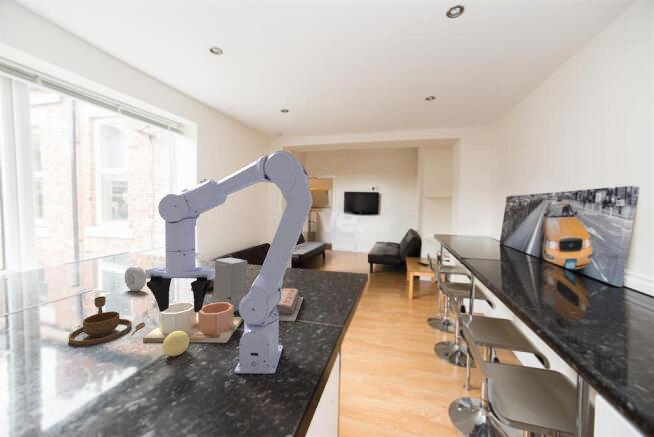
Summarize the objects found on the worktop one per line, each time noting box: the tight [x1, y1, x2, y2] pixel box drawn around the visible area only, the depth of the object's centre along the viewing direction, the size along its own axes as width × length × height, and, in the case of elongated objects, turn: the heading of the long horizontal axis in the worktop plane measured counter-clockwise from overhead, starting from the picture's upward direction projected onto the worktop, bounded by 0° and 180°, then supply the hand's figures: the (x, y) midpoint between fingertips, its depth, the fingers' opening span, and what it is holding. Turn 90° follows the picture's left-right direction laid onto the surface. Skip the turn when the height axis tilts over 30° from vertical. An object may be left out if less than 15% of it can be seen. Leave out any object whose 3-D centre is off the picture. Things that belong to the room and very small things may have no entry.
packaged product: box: [276, 287, 304, 322], centre depth 81 cm, size 18×5×10 cm
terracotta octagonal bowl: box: [197, 302, 234, 334], centre depth 66 cm, size 8×8×5 cm
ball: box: [162, 331, 190, 357], centre depth 55 cm, size 5×5×5 cm
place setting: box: [68, 295, 146, 346], centre depth 68 cm, size 18×20×6 cm
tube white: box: [158, 301, 197, 334], centre depth 66 cm, size 8×8×5 cm
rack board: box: [142, 315, 244, 344], centre depth 66 cm, size 12×20×1 cm, turn 90°
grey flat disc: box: [124, 264, 147, 292], centre depth 96 cm, size 10×3×10 cm, turn 66°
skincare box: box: [212, 257, 248, 313], centre depth 81 cm, size 8×7×16 cm
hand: (181, 310), depth 56 cm, fingers open, 7 cm apart
